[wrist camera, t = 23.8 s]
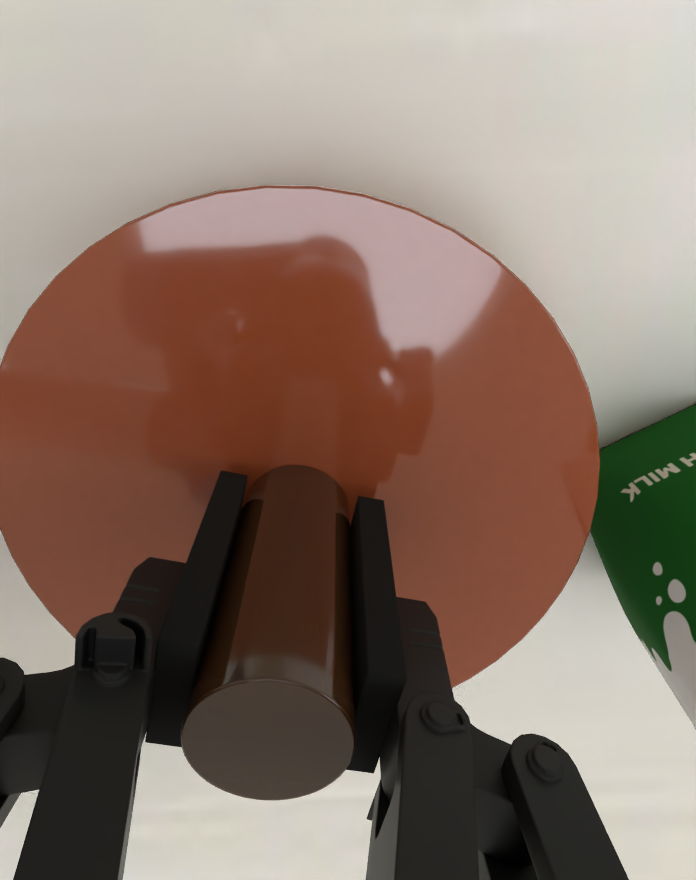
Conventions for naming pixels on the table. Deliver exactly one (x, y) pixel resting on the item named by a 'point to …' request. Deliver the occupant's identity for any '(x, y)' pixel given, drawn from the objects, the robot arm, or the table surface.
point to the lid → (296, 449)
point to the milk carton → (654, 542)
